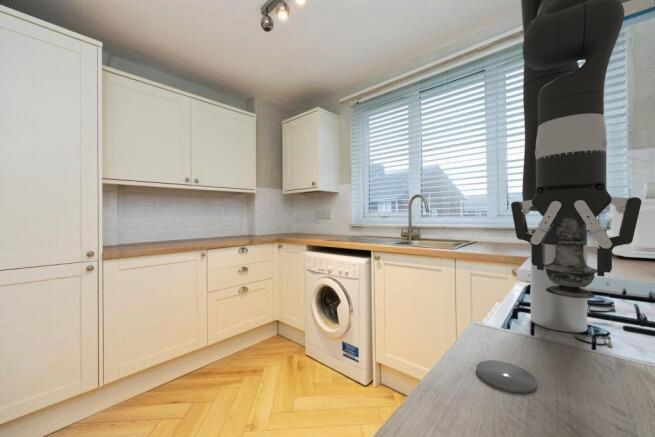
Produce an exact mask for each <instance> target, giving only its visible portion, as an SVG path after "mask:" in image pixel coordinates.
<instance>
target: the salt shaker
mask: <svg viewBox="0 0 655 437" xmlns="http://www.w3.org/2000/svg"><path fill="white" fill-rule="evenodd" d="M553 242H555V243H556V255H555V258H554V261H553V262H552V263H550V264H546V265H544V266H543V267H544V268H545V269H546V274H547V276H548V278H549V279H550V280H551V281H552V282H553V283H556V284H558V285H555V286H550V287H548V288H546V291H547V292H549V293H552V294H555V295H559V296H565V297H571V298H587V299H593V298H595V294H594V293H593V292H591V291H590V290H588V289H587V290H586V289H582V288H579V287H585V286H587V287H588V286H589V285H590V284H592V282H593V281H594V280H595V277H596V276H595V274H597V268H594V267H590V266H589V265H588V264H587V265H586V263H585V260H584V256H583V244H585V243H586V241H584V240H583V226H578V223H577V222H576V220H574V219H572V218H564V219H562V220H561V221H560V222H559V225H556V239H555V240H553Z"/></svg>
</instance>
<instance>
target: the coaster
mask: <svg viewBox="0 0 655 437" xmlns="http://www.w3.org/2000/svg"><path fill="white" fill-rule="evenodd" d="M476 374H477V377H479V378H480V379H481V380H482V381H483V382H485V383H486V384H488V385H490V386H492V387H494V388H497V389H499V390H502V391H504V392H505V391H506V392H510V393H514V394H515V393H516V394H528V393H531V392H534V391H535V390H536V389H537V380H536V377H535V376H534V375H533V374H532V373H531V372H530V371H528V370H527V369H525V368H523V367H520V366H518V365H516V364H513V363H510V362H506V361H501V360H496V359H495V360H493V359H490V360H489V359H487V360H482V361H480V362H478V363H477V364H476Z"/></svg>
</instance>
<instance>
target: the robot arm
mask: <svg viewBox="0 0 655 437" xmlns="http://www.w3.org/2000/svg"><path fill="white" fill-rule="evenodd" d="M520 5H521V19H522V32H523V34H522V35H523V43H522V57H523V84H522V85H523V86H522V87H523V88H522V90H523V91H522V94H523V96H522V97H523V98H522V99H523V100H522V101H523V104H522V105H523V120H524V123H523V124H524V125H523V126H524V154H523V155H524V156H523V170H522V171H523V172H522V194H521V196H522V201H517V200H516V201H512V202H511V203H510V209H511V213H512V214H511V215H512V220H513V223H514V231H515V236H516V238H517V239H518V240H519V241H520V240H521V241H525V242H528V243H529V244H530V321H531V322H532V323H534V324H536V325H538V326H540V327H543V328H546V329H550V330H554V331H558V332H565V333H577V334H578V333H583V332H587V330H588V298H571V297H565V296H559V295H555V294H552V293H549V292H547V291H546V288H548V287H550V286H555V285H558V284H556V283H553V282H552V281H551V280H550V279H549V278H548V276H547V274H546V269H545V268H544V267H543V266H544V265H546V264H550V263H552V262H553V261H554V258H555V255H556V243H555V242H553V240H555V239H556V225H559V222H560V221H561V220H562V219H564V218H572V219H574V220H576V222H577V223H578V226H583V240H584V241H586V243H585V244H583V256H584V260H585V263H586V265H588V233H587V232H588V231H587V228H588V229H589V231H590V233H591V234H592V236H593V237H594V238H595V241H596V242H597V243H598V246H597V247H596V249H597V250H596V251H597V252H596V254H597V255H596V256H597V257H596V263H597V266H596V267H597V268H596V270H597V273H596V276H597V277H605V273H611V272H612V270H613V250H614V248H616V247H619V246H624V245H630V244H632V242H633V240H634V237H635V231H636V228H637V224H638V220H639V215H640V212H641V207H642V203H643V202H642V199H641V198H640V197H634V196H633V197H620V196H619V197H618V196H611V194H610V193H609V192H608V189H607V146H608V140H607V128H606V127H607V126H606V123H605V115H604V114H605V113H604V112H605V107H604V106H605V102H604V101H605V97H604V95H605V84H606V75H607V70H608V67H609V63H610V59H611V57H612V53H613V51H614V48H615V46H616V43H617V41H618V38H619V36H620V33H621V30H622V27H623V23H624V19H625V8H624V4H623V3H622V2H621V1H620V0H520ZM579 61H584V63H583V64H582V65H579ZM609 205H613V206H614V207H615V211H616V212H617V213H618V214H621V215H622V219H621V224H620V227H619V228H620V229H619V232H618V235H617V234H616V235H613V236H609V234H608V233H607V231H606V230H605V229H604V227H603V226H602V224H601V222H600V221H599V219H598V218H597V217H598V216H599V215H600V214H601V213H603V211H604V210H606V208H607V207H608V206H609ZM530 212H538V213H539V214H540V215H541V216H542V219H541V220H540V221H539V224H538V225H537V227H536V228H533V229H532V230H531V231H530V232H529V227H528V221H527V218H526V215H528V214H529V213H530ZM579 288H582V289H586V290H588V285H587V286H585V287H579Z"/></svg>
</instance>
